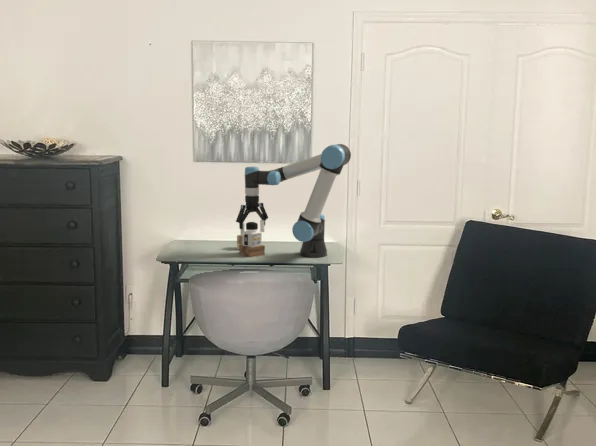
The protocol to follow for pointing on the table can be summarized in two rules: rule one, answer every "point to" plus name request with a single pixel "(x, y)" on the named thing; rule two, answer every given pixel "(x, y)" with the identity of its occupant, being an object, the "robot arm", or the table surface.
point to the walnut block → (251, 250)
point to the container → (252, 235)
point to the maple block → (239, 240)
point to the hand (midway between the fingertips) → (252, 233)
